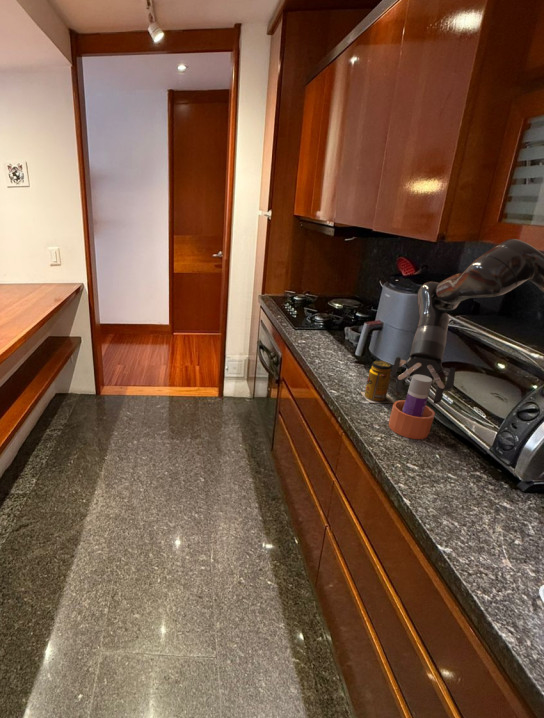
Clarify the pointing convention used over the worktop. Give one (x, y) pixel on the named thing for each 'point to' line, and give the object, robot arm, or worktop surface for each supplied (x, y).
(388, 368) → the condiment
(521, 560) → the worktop surface
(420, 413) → the container
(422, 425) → the holder
